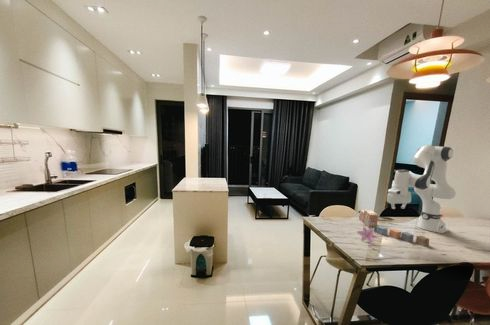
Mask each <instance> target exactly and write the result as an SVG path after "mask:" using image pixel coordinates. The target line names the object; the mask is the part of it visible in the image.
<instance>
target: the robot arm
mask: <svg viewBox="0 0 490 325" xmlns="http://www.w3.org/2000/svg"><path fill="white" fill-rule="evenodd" d="M453 156H454V150H453V149H452V148H451V147H450V146H439V145H437V146H436V145H435V146H434V145H431V144H425V145H423V146H421V147H419V148H418V149H417V151H416V153H415V154H414V156H413V159H412V160H413V163H414V164H415V165H416V166H417V167H419V168H423V169H424V172H423V174H419V175H418V174H412V173H410V171H409V170H408V169H397V170H396V171H395V174H394V179H393V181H394V184H393V187H391V188H389V189H387V194H386V202H387V203H388V204H390V206H391V209H393V210H395V209H396V206H395V205H396V204H402V205H401V206H400V209H402V210H403V209H405V208H406V206H407V204H410V203H411V202H412V193H411V192H410V190H409V188H413V190H414V192H415V194H416V195H418V196H419V197H420V199H421V201H422V210H421V211H420V216H419V217H418V221H417V222H416V225H417V227H418V228H420V229H422V230H425V231H429V232H435V233H438V234H444V233H447V232H449V231H450V228H447V227H446V225H447V224H446V222H445V221H443V220H442V219H441V218H442V217H444V214H441V208H442V207H441V204H440V203H439V202H437V201H435V200H434V199H433V198H437V199H441V200H452V199H454V198H455V196H456V194H457V193H456V190H455V189H454V187H452V186H451V185H450V184H449V183H448V182H447V178H446V175H447V174H446V173H447V164H448V163H447V161H449V160H450V159H451V158H453ZM431 181H433V182H435V184H433V183H431Z"/></svg>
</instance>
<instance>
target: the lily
mask: <svg viewBox="0 0 490 325" xmlns="http://www.w3.org/2000/svg"><path fill="white" fill-rule="evenodd" d="M374 233H375V229H374V228H366V227H365V226H363V227H362V230H358V231H356V234H358V235H360V236H361V239H360V241H361V242H364V241H367V242H368V243H369V244H370V245H373V240H374V239H378V238H379V237H378V236H377V235H375V234H374Z"/></svg>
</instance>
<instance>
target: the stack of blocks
mask: <svg viewBox="0 0 490 325" xmlns="http://www.w3.org/2000/svg"><path fill="white" fill-rule="evenodd" d="M358 219H359V220H360V221H361V222H362V223H363V224H364V225H365V226H366V227H367V229H371V228H374V230H376V229H377V226H378V220H379V215H378V214H377V213H376V212H375V211H373V210H371V209H370V210H369V209H359V218H358Z"/></svg>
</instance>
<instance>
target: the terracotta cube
mask: <svg viewBox="0 0 490 325" xmlns="http://www.w3.org/2000/svg"><path fill="white" fill-rule="evenodd" d="M388 234H389V237H391V238H393V239H401V234H402V231H401V230H398V229H396V228H391V229H389V233H388Z"/></svg>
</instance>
